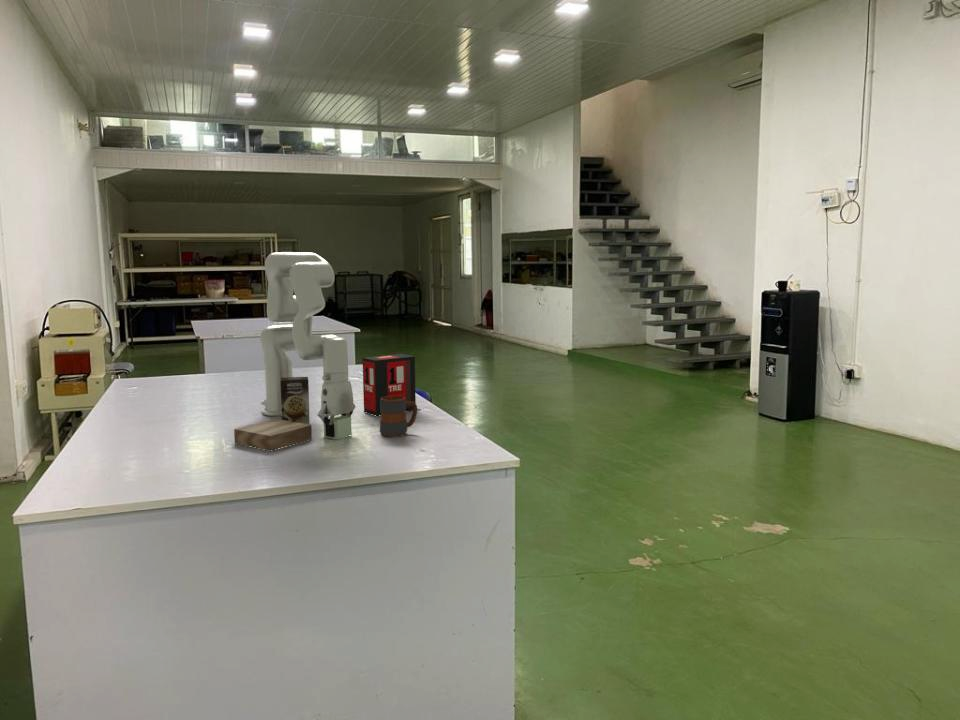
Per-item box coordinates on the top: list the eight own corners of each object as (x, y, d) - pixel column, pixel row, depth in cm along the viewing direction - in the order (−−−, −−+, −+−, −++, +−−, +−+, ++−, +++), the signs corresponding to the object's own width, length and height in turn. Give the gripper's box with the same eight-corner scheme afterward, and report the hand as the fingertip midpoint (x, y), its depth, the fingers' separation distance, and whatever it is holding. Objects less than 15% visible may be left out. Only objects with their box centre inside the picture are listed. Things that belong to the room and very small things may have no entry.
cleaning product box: (402, 406, 265) (401, 353, 262) (415, 410, 258) (414, 356, 255) (363, 412, 254) (362, 357, 251) (376, 416, 248) (375, 360, 245)
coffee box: (281, 428, 230) (279, 380, 228) (281, 424, 236) (279, 377, 234) (310, 426, 233) (308, 378, 230) (309, 422, 239) (307, 375, 236)
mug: (420, 435, 221) (419, 399, 219) (381, 438, 218) (380, 401, 216) (415, 429, 229) (414, 394, 227) (378, 431, 226) (377, 396, 224)
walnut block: (234, 445, 212) (234, 428, 211) (276, 433, 225) (275, 418, 224) (271, 452, 203) (270, 436, 202) (312, 440, 216) (311, 424, 216)
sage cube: (324, 437, 219) (323, 418, 218) (337, 433, 224) (337, 414, 223) (338, 439, 216) (337, 420, 215) (351, 435, 221) (351, 417, 220)
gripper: (324, 382, 208) (326, 441, 211) (364, 374, 222) (365, 430, 225) (306, 380, 212) (308, 438, 215) (346, 372, 227) (348, 427, 229)
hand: (337, 433), depth 220 cm, fingers closed on sage cube, 6 cm apart
